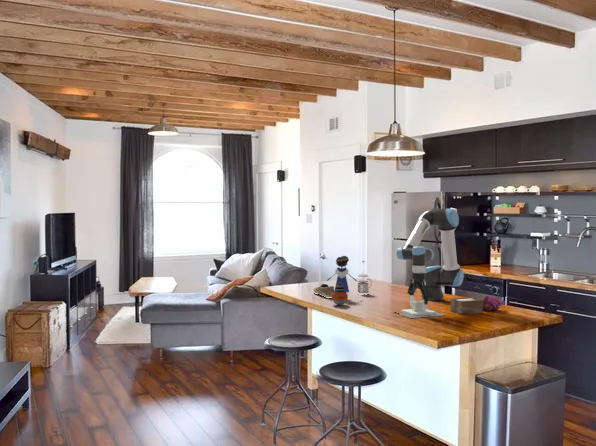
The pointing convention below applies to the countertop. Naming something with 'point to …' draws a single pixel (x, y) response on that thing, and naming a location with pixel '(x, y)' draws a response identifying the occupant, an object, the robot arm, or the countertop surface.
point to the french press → (365, 285)
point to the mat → (424, 315)
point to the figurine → (342, 272)
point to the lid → (417, 309)
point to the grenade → (339, 294)
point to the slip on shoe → (324, 290)
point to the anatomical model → (492, 303)
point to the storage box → (466, 305)
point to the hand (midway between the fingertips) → (418, 307)
